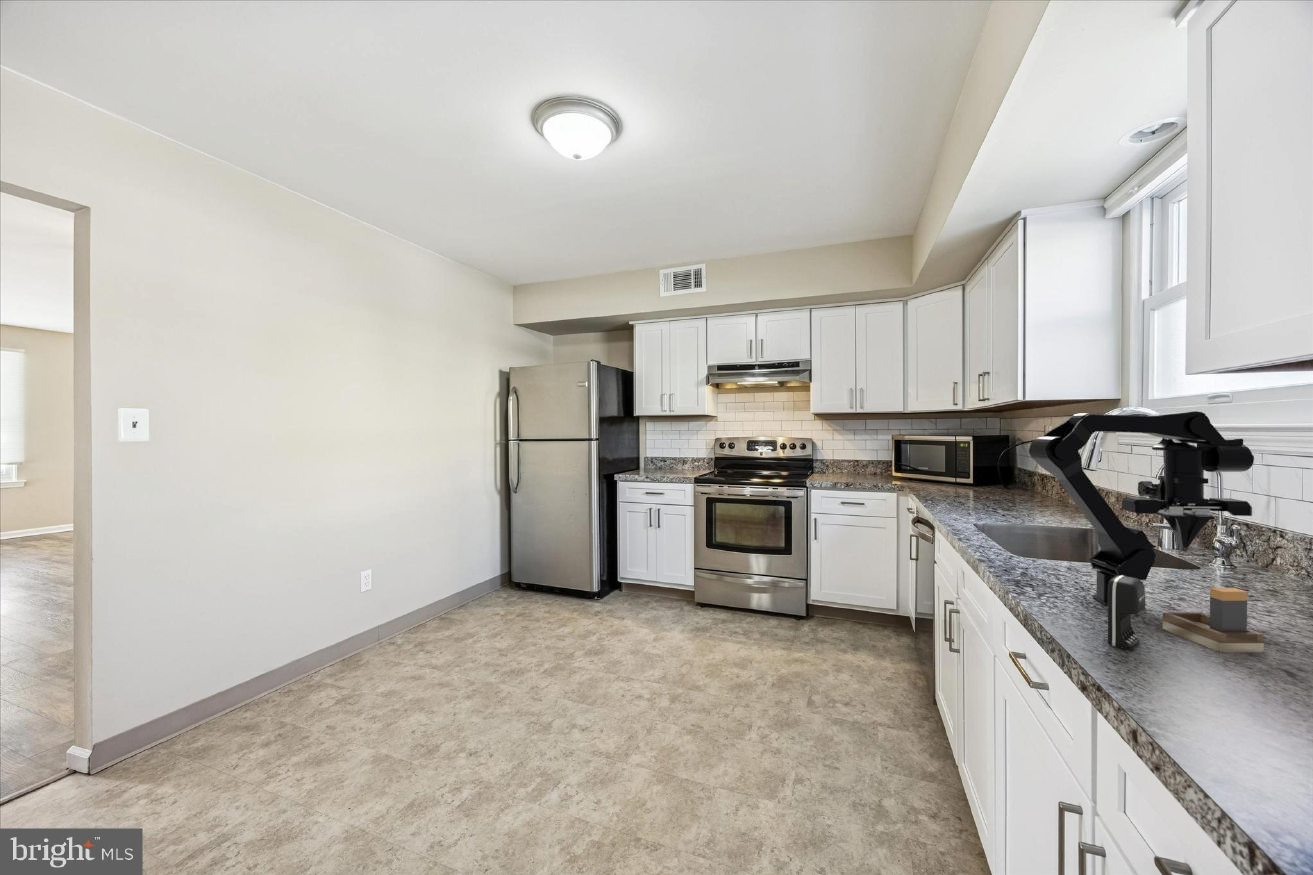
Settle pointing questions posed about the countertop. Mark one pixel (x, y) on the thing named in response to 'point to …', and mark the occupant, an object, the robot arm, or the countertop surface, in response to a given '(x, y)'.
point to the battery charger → (1124, 610)
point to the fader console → (1211, 633)
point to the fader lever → (1228, 610)
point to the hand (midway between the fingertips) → (1183, 547)
